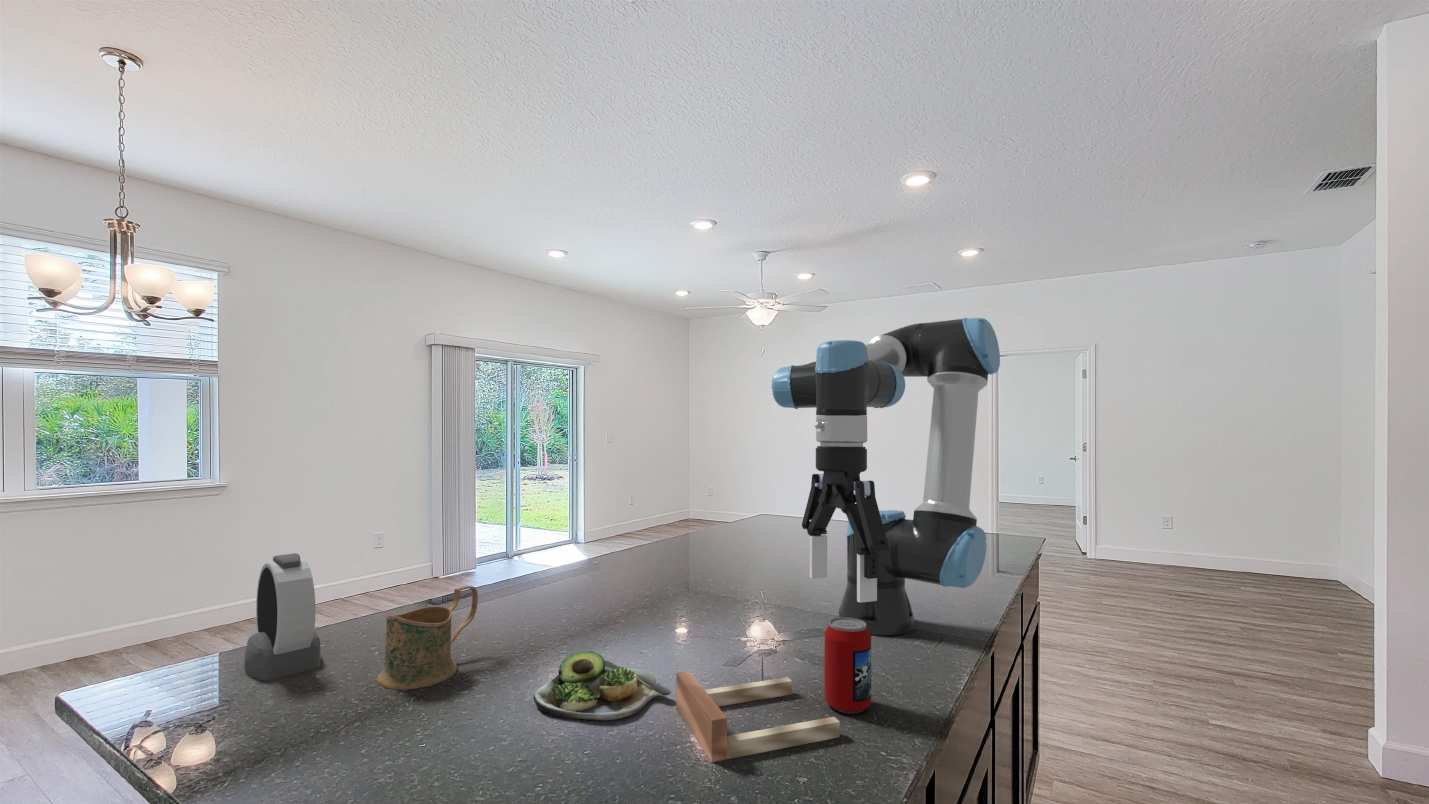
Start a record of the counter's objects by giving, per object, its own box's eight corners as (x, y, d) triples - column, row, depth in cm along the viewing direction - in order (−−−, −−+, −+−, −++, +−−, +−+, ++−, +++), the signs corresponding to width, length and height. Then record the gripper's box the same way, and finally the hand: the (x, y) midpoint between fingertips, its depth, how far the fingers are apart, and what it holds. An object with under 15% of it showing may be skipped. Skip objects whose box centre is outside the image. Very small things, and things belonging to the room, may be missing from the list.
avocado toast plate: (688, 682, 98) (689, 653, 98) (642, 736, 81) (643, 701, 81) (581, 666, 104) (582, 639, 104) (517, 714, 87) (518, 681, 87)
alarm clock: (235, 659, 105) (239, 552, 106) (305, 643, 112) (308, 544, 113) (256, 687, 94) (260, 567, 95) (332, 668, 101) (335, 557, 102)
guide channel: (787, 690, 94) (787, 657, 95) (839, 737, 80) (839, 698, 80) (675, 707, 88) (676, 672, 88) (711, 762, 74) (711, 720, 74)
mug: (498, 655, 108) (500, 586, 108) (411, 695, 92) (414, 614, 92) (451, 644, 112) (453, 579, 113) (361, 680, 97) (363, 604, 97)
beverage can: (872, 718, 85) (872, 632, 86) (823, 713, 87) (823, 628, 87) (870, 697, 92) (870, 617, 92) (824, 693, 93) (824, 614, 94)
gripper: (782, 442, 102) (781, 570, 101) (866, 448, 78) (866, 615, 77) (821, 442, 104) (821, 567, 103) (915, 447, 81) (916, 610, 80)
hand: (840, 588), depth 90 cm, fingers open, 13 cm apart
